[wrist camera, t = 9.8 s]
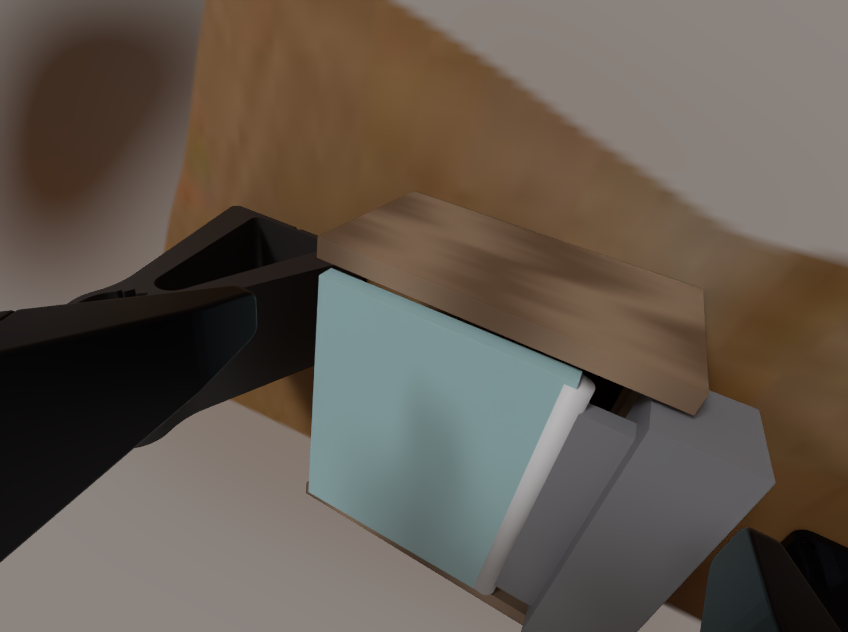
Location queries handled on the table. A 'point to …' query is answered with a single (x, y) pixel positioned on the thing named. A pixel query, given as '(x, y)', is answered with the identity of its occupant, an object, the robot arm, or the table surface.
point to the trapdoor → (520, 463)
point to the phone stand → (254, 271)
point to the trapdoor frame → (533, 305)
